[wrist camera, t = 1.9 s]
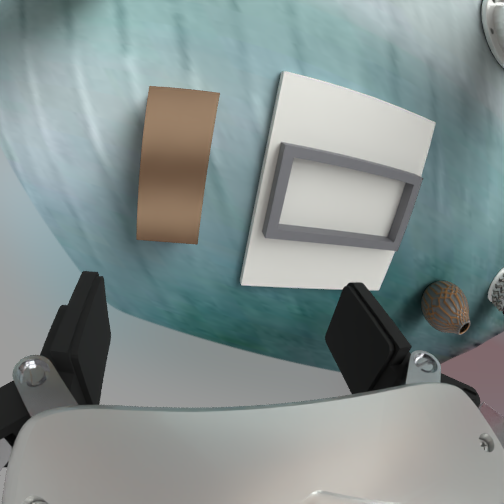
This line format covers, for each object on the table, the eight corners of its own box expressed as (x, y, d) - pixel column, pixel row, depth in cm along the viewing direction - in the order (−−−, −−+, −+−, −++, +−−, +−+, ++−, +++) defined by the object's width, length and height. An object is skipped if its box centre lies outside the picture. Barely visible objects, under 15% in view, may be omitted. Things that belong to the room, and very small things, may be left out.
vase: (411, 315, 44) (440, 353, 37) (418, 280, 41) (453, 318, 33) (443, 302, 45) (474, 336, 37) (451, 268, 41) (487, 301, 34)
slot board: (281, 71, 25) (289, 70, 23) (430, 121, 29) (444, 125, 27) (239, 279, 35) (243, 293, 33) (375, 286, 39) (384, 297, 37)
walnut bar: (158, 86, 24) (149, 86, 19) (214, 92, 25) (219, 92, 20) (145, 211, 30) (136, 239, 24) (196, 215, 31) (197, 244, 26)
